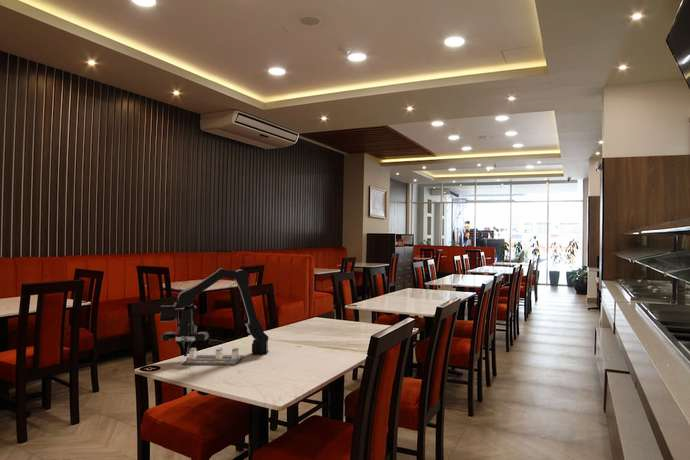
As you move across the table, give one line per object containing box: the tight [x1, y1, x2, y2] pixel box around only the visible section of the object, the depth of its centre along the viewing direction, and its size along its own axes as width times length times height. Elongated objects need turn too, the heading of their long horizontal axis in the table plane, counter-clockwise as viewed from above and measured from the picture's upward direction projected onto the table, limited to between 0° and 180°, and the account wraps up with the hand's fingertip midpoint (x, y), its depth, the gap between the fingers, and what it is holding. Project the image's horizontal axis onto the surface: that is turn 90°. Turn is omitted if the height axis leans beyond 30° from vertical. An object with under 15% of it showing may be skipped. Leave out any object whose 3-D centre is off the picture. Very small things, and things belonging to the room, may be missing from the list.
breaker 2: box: [215, 347, 224, 359], centre depth 198 cm, size 2×3×4 cm, turn 178°
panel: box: [182, 354, 245, 366], centre depth 198 cm, size 22×13×2 cm, turn 88°
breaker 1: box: [188, 347, 197, 359], centre depth 199 cm, size 2×3×4 cm, turn 178°
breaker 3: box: [231, 347, 239, 359], centre depth 198 cm, size 2×3×4 cm, turn 178°
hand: (185, 356), depth 199 cm, fingers closed
